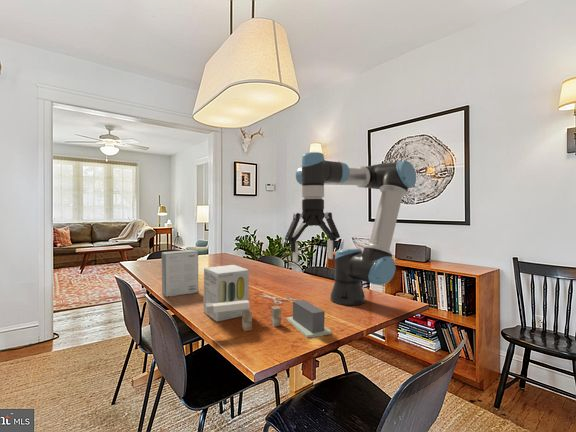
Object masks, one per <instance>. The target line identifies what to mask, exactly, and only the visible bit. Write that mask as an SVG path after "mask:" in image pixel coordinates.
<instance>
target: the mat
mask: <svg viewBox="0 0 576 432" xmlns="http://www.w3.org/2000/svg"><path fill="white" fill-rule="evenodd" d="M286 320H287V321H288V323H289V324H291V325H292V326H293V327H294V328H295V329H296V330H297V331H298V332H300V333H301V334H302V335H303V336H304V337H305V338H307V339H308V338H315V337H321V336H328V335H331V334H332V333H333V331H332V330H330V329H329V328H328V327H326V326H325V325H324V331H322V332H317V333H311V332H310V331H309V330H307V329H306V328H304V327H303V326H302V325H300V324H299V323H298V322H296V321H295V320H293V316H287V317H286Z"/></svg>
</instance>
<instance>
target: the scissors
mask: <svg viewBox="0 0 576 432" xmlns="http://www.w3.org/2000/svg"><path fill="white" fill-rule="evenodd" d="M261 293H262V294H263V295H260V294H258V296H260V297H264V298H269V299H271V300H273V301H274V304H275V305H281V304H282V303H283V302H282V301H280V299H281V300H285V301H298V299H297V298H296V299H295V298H291V297H276V296H270V295H268V294H266V293H263V292H261ZM276 299H277V300H276ZM278 299H279V300H278Z"/></svg>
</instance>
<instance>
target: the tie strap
mask: <svg viewBox="0 0 576 432" xmlns="http://www.w3.org/2000/svg"><path fill="white" fill-rule="evenodd" d="M250 305H251V302H250V300H249V301H248V300H242V301H233V302H223V303H214V304H212V303H205V311H206V313H207V314H213V313H215V312H223V311H232V310H240V309H250V308H251V306H250ZM206 313H205V314H206ZM207 314H206V315H207Z"/></svg>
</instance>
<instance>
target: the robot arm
mask: <svg viewBox="0 0 576 432" xmlns="http://www.w3.org/2000/svg"><path fill="white" fill-rule="evenodd" d="M295 180H296V181H297V183H298V184H300V185H301V197H302V198H303V199H302V200H301V210H302V212H301V213H300V212H293V216H292V218H293V219H292V221H291V223H290V225H289V226H288V227H289V228H288V230H287V232H286V234H285V237H284V241H286V242H287V241H288V242H289V247H290V248H289V249H290V250H289V251H290V252H291V253H292V262H294V263H298V262H299V242H297V240H298V239H299V237H301V235H302V234H303V232H304V231H305V230H306V228H308V227H312V226H319V227H320V229H321V230H322V231H323V233H324V234H325V235H326V236H327V238H328V239H327V240H326V241H327V243H326V244H327V245H326V248H327V249H326V257H327V259H329V260H334V284H333V286H332V288H331V293H330V301H331V302H333V303H335V304H338V305H343V306H358V305H359V306H360V305H363V304H364V303H365V302H366V296H365V293H364V292H365V291H364V289H363V286H362V282H365V283H371V284H372V285H378V286H379V285H381V286H384V285H386V284H388V283H389V282H391V281H392V279H393V278H394V276H395V273H396V269H397V268H396V261H395V259H394V258H393V253H392V251H391V250H390V249H391V245H392V243H393V242H392V241H393V238H394V234H395V228H396V225H397V222H398V221H397V220H398V216H399V211H400V208H401V205H402V200H403V197H405V196H406V195H408V190H409V189H411V188H414V186H416V183H417V172H416V170H415V167H414V165H413V164H412V163H411V162H410V161H408V160H403V161H401V160H398V161H394V162H385V163H378V164H372V165H367V166H364V165H363V166H358V167H355V168H354V167H349V165H348V164H347V163H345V162H341V161H334V160H333V161H331V160H325V155H324V154H323V153H321V152H318V151H317V152H315V151H314V152H313V151H312V152H306V153H304V154H303V155H302V157H301V166H300V167H298V169H297V170H296V172H295ZM325 185H327V186H328V185H331V186H338V185H339V186H356V187H358V188H365V189H374V190H379V191H380V192H381V196H380V200H379V202H378V208H377V211H376V215H375V219H374V222H373V226H372V230H371V235H370V239H369V243H368V244H367V245H366V246H364V247H363V251H362V249H361V248H346V249H344V248H343V249H337V250H336V251H335V255H334V250H335V248H336V246H335V245H336V241H337V240H338V239H340V237H341V235H340V233H339V231H338V228H337V226H336V223H335V222H334V219H333V213H332V212H330V211H329V212H328V211H326V212H324V209H325V200H324V199H323V198H325ZM301 219H302V221H301V223H300V224H299V222H300V220H301ZM324 219H325V221H326V222H325V221H324ZM326 223H327V224H328V226H327V225H326ZM298 225H299V226H298ZM297 227H298V228H297Z"/></svg>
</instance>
